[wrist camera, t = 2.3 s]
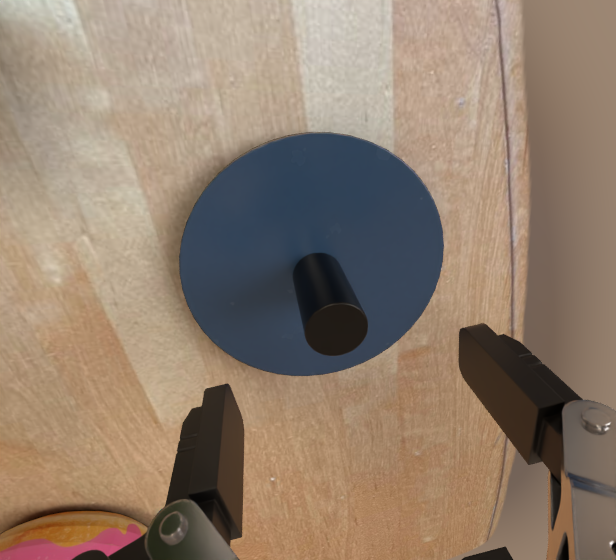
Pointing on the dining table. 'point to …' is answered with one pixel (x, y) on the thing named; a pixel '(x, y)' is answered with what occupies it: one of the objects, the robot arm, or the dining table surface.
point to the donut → (69, 535)
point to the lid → (311, 254)
